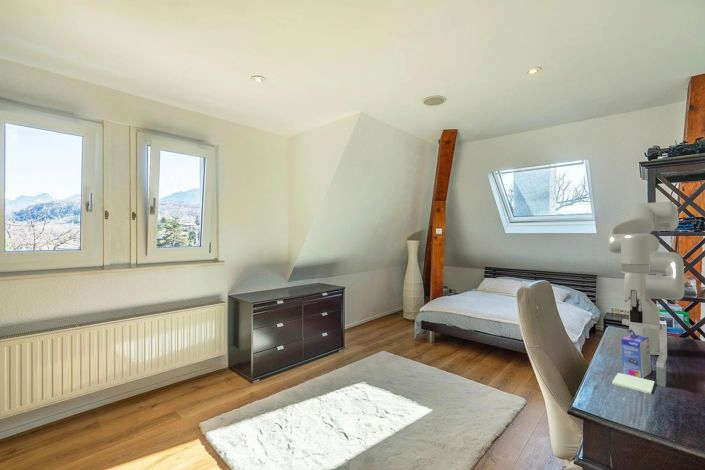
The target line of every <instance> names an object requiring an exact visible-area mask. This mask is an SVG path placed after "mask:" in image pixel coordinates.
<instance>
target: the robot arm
mask: <svg viewBox="0 0 705 470" xmlns="http://www.w3.org/2000/svg"><path fill="white" fill-rule="evenodd" d="M627 213H628V214H626V215H625V216H624V219H623V221H622V222H620V223H618V224H616V225H614V226H612V228H611V229H610V231H609V233H608V236H607V240H606V247H607V249H608V251H609V252H610V253H612V254H620V261H621V262H620V266H621V267H620V273H621V274H624V277H623V278H624V279H623V302H625V303H627V302H628V320H630V322H635V323H642V322H649V323H656V324H661V319H660V316H661V314H660V312H661V311H660V308H659V306H658V305H657V304H656V303H655V302H654V301H652V299H656V300H657V299H659V300H670V301H679V300H681V299H683V298H684V296H685V287H686V286H685V269H684V267H685V265H684V260H683V258H682V255H681V254H679V253H677V252H674V251H659V248H660V241H659V238H658V237H656V235H654V234H651V233H652V232H664V231H665V232H666V231H668V232H669V231H674V230H676V229H677V228H678V227H679V223H680V219H679V209H678V207H677V206H676V204H674V203H673V202H670V201H659V202H656V201H655V202H642V203H637V204H634V205H632V206H631V207H630V208H629V210H628V212H627ZM631 329H632V330H633V332H634V333H635V335H639V336H645V337H649V343H650V356H655V355H659V354H660V332H659V329H652V328H645V327H638V326H631V325H628V330H631ZM633 332H631V334H633ZM628 335H630V334H629V333H628Z"/></svg>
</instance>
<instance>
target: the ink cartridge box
mask: <svg viewBox="0 0 705 470" xmlns="http://www.w3.org/2000/svg"><path fill="white" fill-rule="evenodd" d="M627 332H628V335H626V336H625V337H622V338H621V339H620V341H621V356H622V358H621V359H622V372H623V373H622V374H626V375H630V376H634V377H638V378H643V379H645V378H646V377H647V376H648V375H649V374H651V372H652V366H651V365H652V364H651V355H650V343H649V337H645V336H639V335H635V333H634V332H633V330H632V329H631V330H629V329H628V330H627ZM631 332H633V334H631ZM629 334H630V335H629Z"/></svg>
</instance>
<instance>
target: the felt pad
mask: <svg viewBox="0 0 705 470" xmlns="http://www.w3.org/2000/svg"><path fill="white" fill-rule="evenodd" d="M655 383H656V381H654V380H650V379H647V378H638V377H634V376H630V375H626V374H623V373H620V372H617V374H616V375H615V377H614V379H613V380H612V381H611V384H612V385H614V386H618V387H622V388H626V389H628V390H629V389H630V390H633V391H638V392H642V393H645V394H648V395H652V392H653V389H654V386H655Z"/></svg>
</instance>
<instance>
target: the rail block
mask: <svg viewBox="0 0 705 470" xmlns="http://www.w3.org/2000/svg"><path fill="white" fill-rule="evenodd" d="M655 369H656V370H655V373H656V375H655V376H656V378H655V379H656V381H655V383H656V386H659V387H666V386H667V364H666V363H665V365H664V368H661V367H655Z"/></svg>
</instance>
